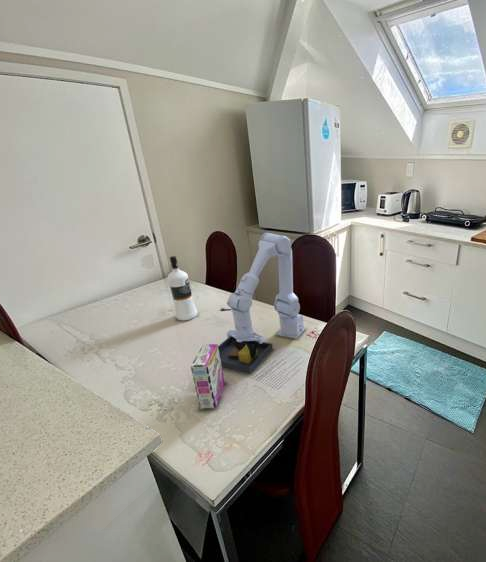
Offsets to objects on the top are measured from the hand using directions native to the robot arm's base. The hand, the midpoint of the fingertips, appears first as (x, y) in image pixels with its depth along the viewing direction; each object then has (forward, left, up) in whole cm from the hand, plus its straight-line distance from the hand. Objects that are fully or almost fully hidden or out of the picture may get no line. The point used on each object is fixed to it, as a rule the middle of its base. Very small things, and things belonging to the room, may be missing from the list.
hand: (248, 355), depth 117 cm
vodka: (+47, -19, -2) cm, 50 cm away
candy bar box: (0, +20, -2) cm, 20 cm away
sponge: (0, 0, -1) cm, 1 cm away
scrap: (+6, 0, -1) cm, 6 cm away
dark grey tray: (+4, 0, -2) cm, 4 cm away
